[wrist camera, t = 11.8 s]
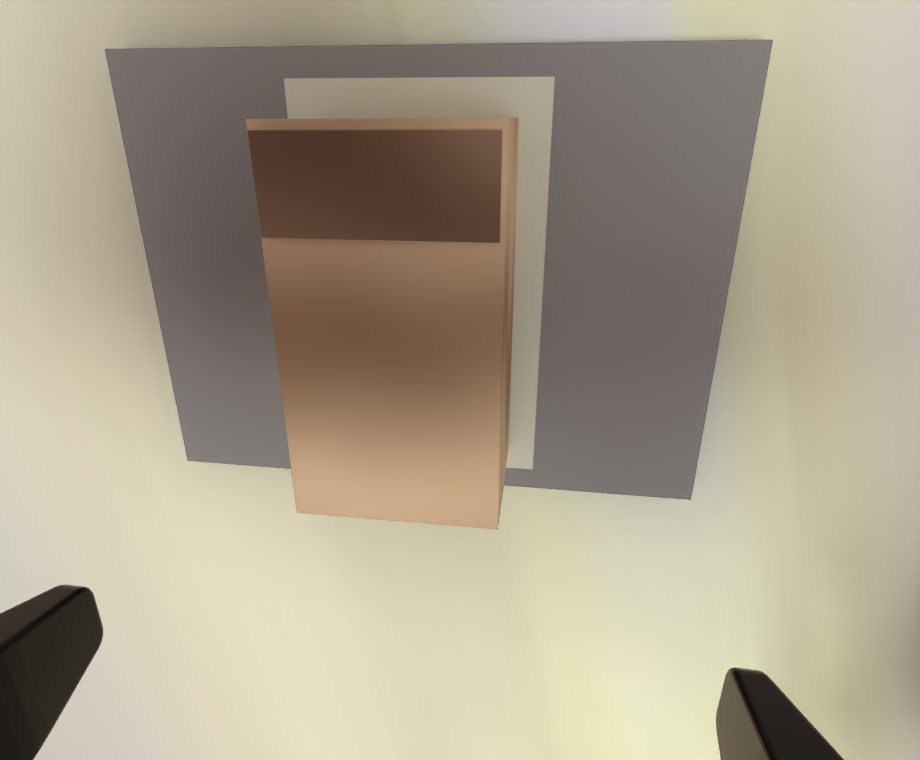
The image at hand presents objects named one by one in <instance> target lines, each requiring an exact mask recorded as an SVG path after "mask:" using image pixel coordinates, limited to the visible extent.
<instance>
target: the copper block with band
mask: <svg viewBox="0 0 920 760" xmlns="http://www.w3.org/2000/svg"><path fill="white" fill-rule="evenodd" d="M246 125H247V133H248V140H249V148H250V156H251V163H252V171H253V179H254V186H255V194H256V202H257V210H258V217H259V225H260V233H261V240H262V248H263V256H264V263H265V271H266V279H267V286H268V294H269V302H270V309H271V317H272V325H273V333H274V340H275V348H276V356H277V363H278V371H279V379H280V386H281V394H282V402H283V409H284V417H285V425H286V432H287V440H288V448H289V456H290V463H291V471H292V479H293V486H294V494H295V502H296V509H297V513H307V514H319V515H331V516H343V517H355V518H367V519H379V520H391V521H404V522H416V523H428V524H440V525H452V526H464V527H476V528H488V529H498V523H499V516H500V508H501V501H502V493H503V486H504V479H505V471H506V464H507V456H508V449H509V422H510V391H511V360H512V329H513V298H514V266H515V235H516V204H517V173H518V142H519V118H370V119H246Z"/></svg>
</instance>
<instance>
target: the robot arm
mask: <svg viewBox="0 0 920 760" xmlns="http://www.w3.org/2000/svg"><path fill="white" fill-rule="evenodd" d="M102 637H103V626H102V622H101V619H100V615H99V612H98V608H97V605H96V601H95V598H94V595H93V592H92V591H91V590H90V589H89V588H86V587H81V586H73V585H60V586H57V587H54V588H52V589H50V590H48V591H46V592H44V593H42V594H40V595H38V596H36V597H34V598H32V599H30V600H28V601H25V602H23V603H21V604H19V605H17V606H15V607H13V608H11V609H9V610H7V611H5V612H3V613H1V614H0V760H33V759H34V758H35V756H36V755H37V753H38V752H39V750H40V748H41V747H42V745H43V743H44V742H45V740H46V738H47V737H48V735H49V734H50V732H51V730H52V728H53V727H54V725H55V723H56V721H57V720H58V718H59V716H60V715H61V713H62V711H63V709H64V708H65V706H66V704H67V702H68V701H69V699H70V697H71V695H72V694H73V692H74V690H75V688H76V687H77V685H78V683H79V681H80V680H81V678H82V676H83V674H84V673H85V671H86V669H87V667H88V666H89V664H90V662H91V661H92V659H93V657H94V655H95V654H96V652H97V650H98V648H99V646H100V644H101V641H102ZM716 728H717V736H718V743H719V750H720V756H721V760H844V759H843V758H842V757H841V756H840V755H839V754H838V753H837V752H836V750H835V749H834V748H833V747H832V746H831V745H830V744H829V743H828V742H827V740H826V739H825V738H824V737H823V736H822V735H821V734H820V733H819V732H818V731H817V729H816V728H815V727H814V726H813V725H812V724H811V723H810V722H809V721H808V720H807V718H806V717H805V716H804V715H803V714H802V713H801V712H800V711H799V710H798V709H797V707H796V706H795V705H794V704H793V703H792V702H791V701H790V700H789V699H788V698H787V696H786V695H785V694H784V693H783V692H782V691H781V690H780V689H779V688H778V686H777V685H776V684H775V683H774V682H773V681H772V680H771V679H770V678H769V677H768V676H767V675H766V674H765V673H763V672H761V671H758V670H750V669H742V668H731V669H729V670H728V672H727V674H726V677H725V681H724V685H723V689H722V693H721V697H720V701H719V705H718V709H717V715H716Z"/></svg>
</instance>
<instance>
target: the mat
mask: <svg viewBox="0 0 920 760" xmlns="http://www.w3.org/2000/svg"><path fill="white" fill-rule="evenodd" d="M772 42H773V40H719V41H648V42H576V43H504V44H433V45H361V46H289V47H218V48H146V49H105V52H106V57H107V62H108V67H109V72H110V77H111V82H112V87H113V92H114V97H115V102H116V107H117V112H118V117H119V122H120V127H121V132H122V137H123V142H124V147H125V152H126V157H127V162H128V167H129V172H130V177H131V182H132V187H133V192H134V196H135V201H136V206H137V211H138V216H139V221H140V226H141V231H142V236H143V241H144V246H145V251H146V256H147V261H148V266H149V271H150V276H151V281H152V286H153V291H154V296H155V301H156V306H157V311H158V316H159V321H160V326H161V331H162V336H163V341H164V346H165V351H166V356H167V360H168V365H169V370H170V375H171V380H172V385H173V390H174V395H175V400H176V405H177V410H178V415H179V420H180V425H181V430H182V435H183V440H184V445H185V450H186V455H187V460H188V461H198V462H211V463H223V464H236V465H249V466H262V467H275V468H288V469H291V463H290V456H289V448H288V440H287V432H286V425H285V417H284V409H283V402H282V394H281V386H280V379H279V371H278V363H277V356H276V348H275V340H274V333H273V325H272V317H271V309H270V302H269V294H268V286H267V279H266V271H265V263H264V256H263V248H262V240H261V233H260V225H259V217H258V210H257V202H256V194H255V186H254V179H253V171H252V163H251V156H250V148H249V140H248V133H247V125H246V119H370V118H519V142H518V173H517V204H516V235H515V266H514V298H513V329H512V360H511V391H510V422H509V449H508V456H507V464H506V471H505V479H504V485H507V486H520V487H533V488H546V489H559V490H572V491H585V492H598V493H611V494H624V495H636V496H649V497H662V498H675V499H688V500H691V496H692V490H693V484H694V479H695V473H696V468H697V462H698V456H699V451H700V445H701V440H702V434H703V428H704V423H705V417H706V412H707V406H708V400H709V395H710V389H711V384H712V378H713V372H714V367H715V361H716V356H717V350H718V344H719V339H720V333H721V328H722V322H723V316H724V311H725V305H726V300H727V294H728V288H729V283H730V277H731V272H732V266H733V260H734V255H735V249H736V244H737V238H738V232H739V227H740V221H741V216H742V210H743V204H744V199H745V193H746V188H747V182H748V176H749V171H750V165H751V160H752V154H753V148H754V143H755V137H756V132H757V126H758V120H759V115H760V109H761V104H762V98H763V92H764V87H765V81H766V76H767V70H768V64H769V59H770V53H771V48H772Z"/></svg>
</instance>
